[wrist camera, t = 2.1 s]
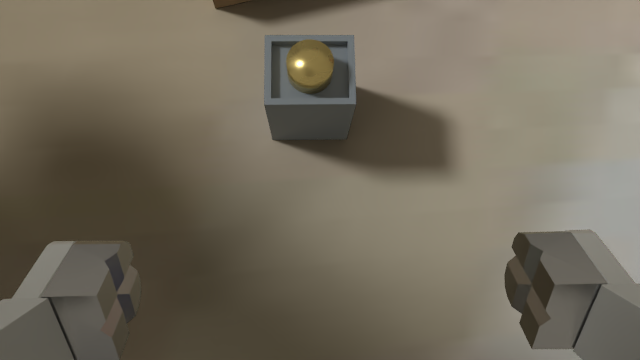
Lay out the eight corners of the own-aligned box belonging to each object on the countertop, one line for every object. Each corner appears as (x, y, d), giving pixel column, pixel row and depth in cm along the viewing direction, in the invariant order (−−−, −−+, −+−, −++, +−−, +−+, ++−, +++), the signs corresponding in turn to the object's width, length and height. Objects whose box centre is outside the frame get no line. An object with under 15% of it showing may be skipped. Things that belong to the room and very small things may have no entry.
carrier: (272, 140, 37) (264, 104, 29) (272, 83, 38) (264, 35, 30) (346, 139, 37) (356, 104, 30) (344, 83, 38) (353, 34, 30)
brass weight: (287, 94, 30) (286, 83, 29) (287, 51, 31) (286, 39, 29) (333, 94, 30) (334, 83, 29) (332, 51, 31) (333, 39, 29)
